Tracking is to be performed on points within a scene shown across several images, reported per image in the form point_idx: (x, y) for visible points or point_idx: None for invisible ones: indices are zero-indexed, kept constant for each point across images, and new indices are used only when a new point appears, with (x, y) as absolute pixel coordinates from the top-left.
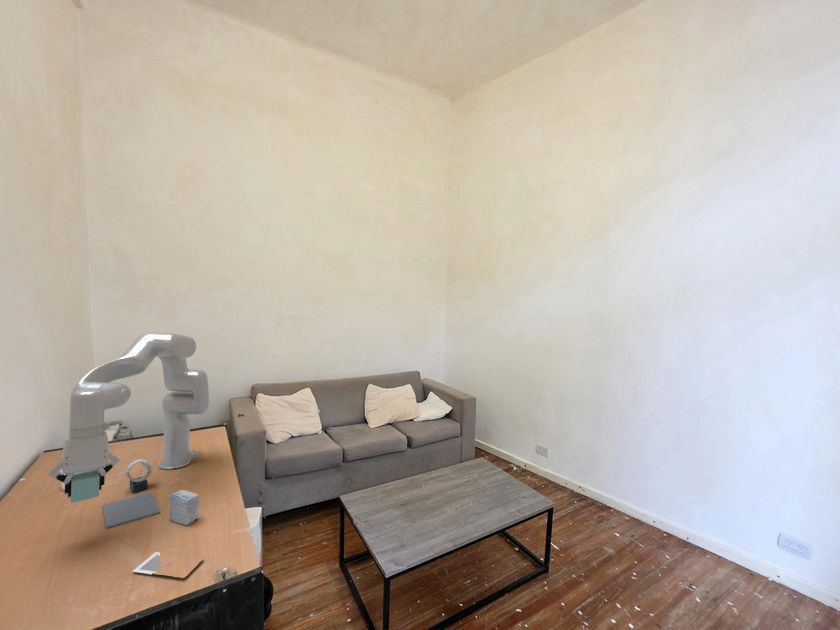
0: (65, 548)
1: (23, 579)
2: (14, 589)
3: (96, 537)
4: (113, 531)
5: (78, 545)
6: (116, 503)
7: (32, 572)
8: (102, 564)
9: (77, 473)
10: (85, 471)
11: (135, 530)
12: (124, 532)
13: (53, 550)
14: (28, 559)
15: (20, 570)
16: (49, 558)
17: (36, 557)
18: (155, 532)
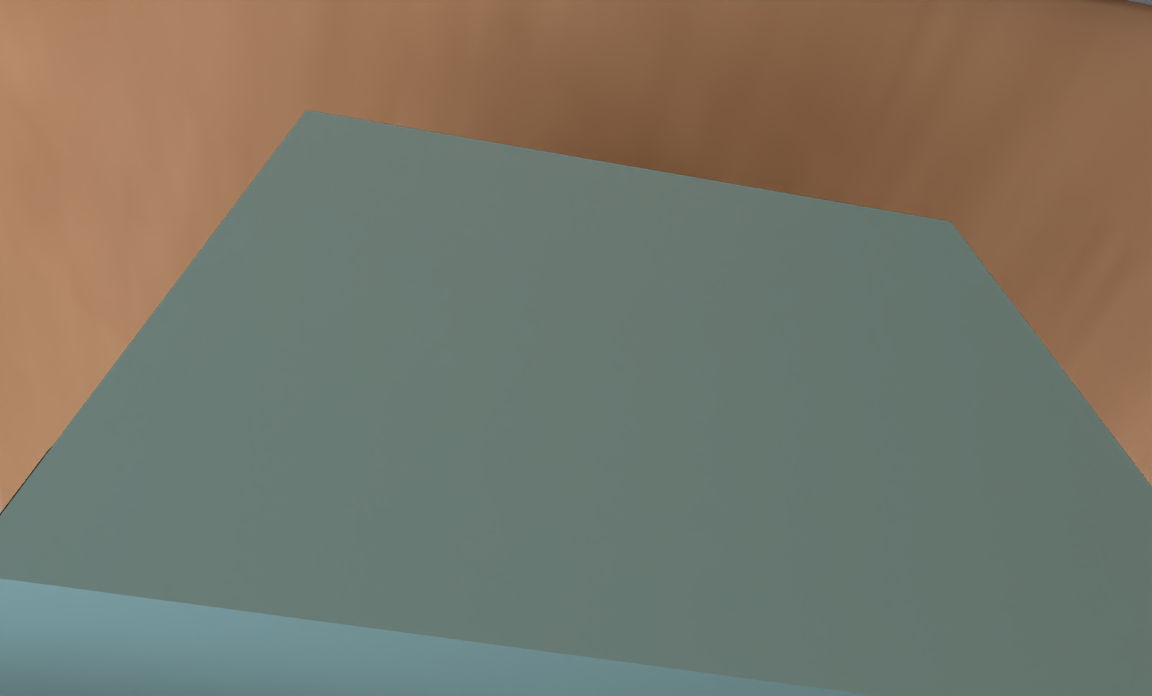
0: (411, 68)
1: (73, 356)
2: (28, 446)
3: (718, 81)
4: (899, 90)
5: (529, 113)
6: None
7: (131, 300)
8: None
9: (301, 688)
10: (728, 680)
11: (1052, 262)
12: (961, 213)
13: (301, 8)
14: (73, 3)
15: (28, 180)
16: (261, 159)
17: (145, 27)
18: (1136, 448)
